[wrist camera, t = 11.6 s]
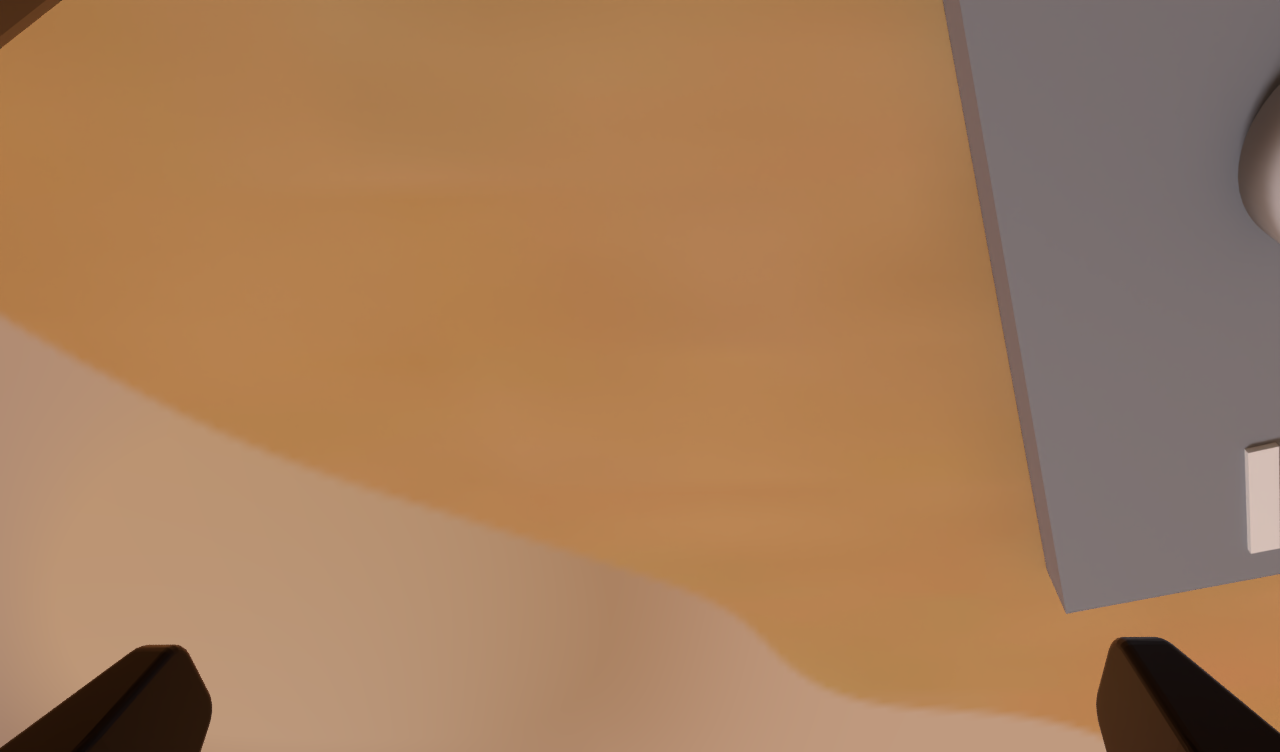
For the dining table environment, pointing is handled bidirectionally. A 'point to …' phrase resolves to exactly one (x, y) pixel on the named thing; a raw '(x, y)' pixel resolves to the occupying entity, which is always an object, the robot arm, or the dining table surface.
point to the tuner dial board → (1132, 281)
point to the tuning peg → (1262, 168)
